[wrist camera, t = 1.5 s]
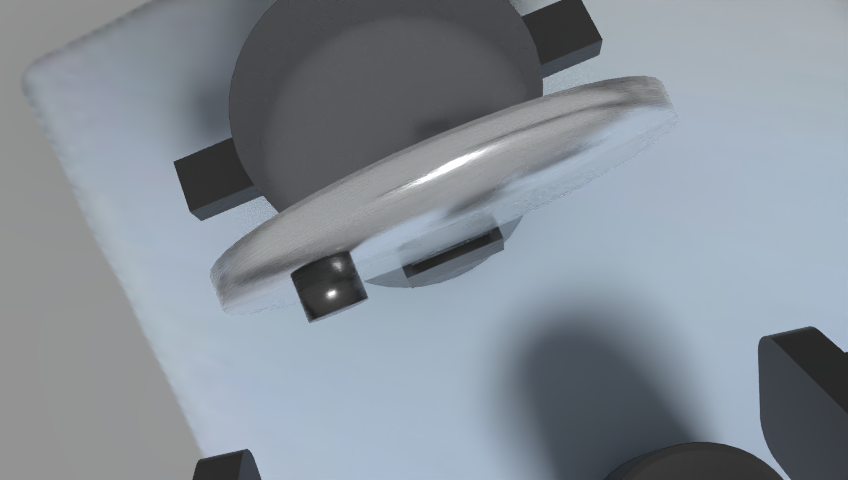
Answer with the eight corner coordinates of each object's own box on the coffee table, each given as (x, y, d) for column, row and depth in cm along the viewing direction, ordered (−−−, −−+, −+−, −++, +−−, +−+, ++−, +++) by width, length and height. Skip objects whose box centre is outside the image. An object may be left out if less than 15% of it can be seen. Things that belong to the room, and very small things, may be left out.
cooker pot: (643, 223, 47) (678, 162, 38) (285, 373, 47) (229, 350, 38) (523, -10, 52) (527, -116, 43) (199, 125, 52) (129, 49, 42)
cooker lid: (604, 154, 38) (630, 209, 38) (275, 292, 38) (298, 349, 38) (736, 5, 21) (785, 106, 20) (123, 261, 20) (163, 367, 20)
